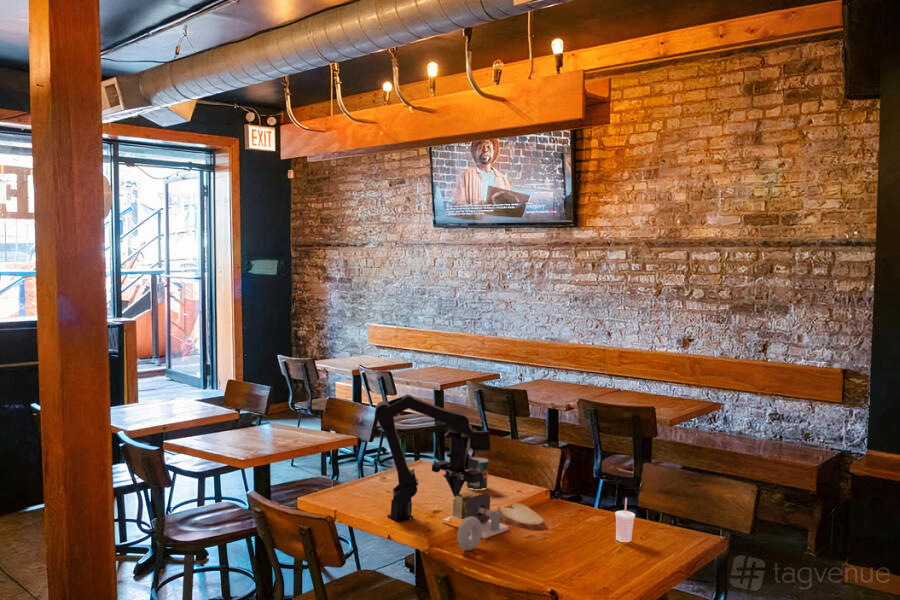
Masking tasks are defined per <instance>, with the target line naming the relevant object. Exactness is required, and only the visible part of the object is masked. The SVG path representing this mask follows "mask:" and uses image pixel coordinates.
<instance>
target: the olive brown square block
mask: <svg viewBox="0 0 900 600" xmlns="http://www.w3.org/2000/svg"><path fill="white" fill-rule="evenodd" d="M477 495H478V493H477V492H475V491H472V490H468V491H466V492H463V493H459V495H456V497H454V499H455V517H456V518H458V519H465V518H467V508H466V502H467V500H468V498H471V497H474V496H477Z"/></svg>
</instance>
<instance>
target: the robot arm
mask: <svg viewBox="0 0 900 600" xmlns="http://www.w3.org/2000/svg"><path fill="white" fill-rule="evenodd" d="M374 409H375V410H374V411H375V412H374V415H375V418H376V420H377V421H378V424H379V426H380V427H381V429H382V431H383V432H384V434H385V438H386V441H387V444H388V446H389V450H390V453H391V455H392V459H393V463H394V466H395V468H396V472H397V479H398V484H397V485H396V486H395V487H394V488H392V499H391V500H390V502H391V503H390V514H388V515H387V518H389V519H391V520H394V521H397V522H399V523H402V522H405V521H404V520H406V521H408V520H407V519H409V520H411V519H410V518H412V519H414V518H415V516H414V515H412V509H413V508H412V506H413V502H412V498H413V497H414V496H415V495H416V494H417V492H418V486H419V480H418V478H417V475H416V473H415V468H413V469H410V467H409V466H408V464H407V461H406V457H405V454H404V451H403V448H402V444H401V442H400V439H399V435H398V432H397V429H396V425H395V418H394V416H397V415H399V414H401V413H402V412H404V411H406V410H409V409H410V410H411V411H414V412H417V413H419V414H422V415H424V416H427V417H429V418H432V419H435V420H437V421H440V422H441V423H442V424H444V425H445V426H447V427H448V428H450V429H449V430H448V431H447V432H445V433H444V436H445V438H446V439H449V452H447V453H446V457H447V458H449V460H448V461H446V460H439V461H435V462H433V463H432V465H431V471H432V472H434V473H439V472H440V471H441V470H442V471H445V474H444V475H443V478H445V479H446V481H447V483H448V486H449V488H450V491H451V493H452V495H453V497H454V498H456V495H459V494H461V490H462V488H463V486H464V484H465V482H466V483H467V482H469V483H476V482H480V481H483V479H484V474H483V473H482V472H480V471H477V470H476V469H477V466H478V462H479V461H478V460H474V459H471V458H470V457H471V456H470V453H468V448H469V449H471V452H490V450H491V440H490V430H473V428H472V427H471V426H470V421H469V419H468V417H467V415H466V413H464V412H462V411H460V410H459V411H458V410H453V409H447V408H446V409H445V408H443V407H440V406H437V405H434V404H432V403H429V402H427V401H424V400H422V399H419V398H417V397H415V396H413V395H411V394H404V395H402V396H400V397H397V398H394V399H391V400H389V401H386V400H385V401H380V402H378V403H377V404H376V406H375V408H374ZM452 430H453V431H452ZM462 433H463V434H462ZM470 468H474V469H475V470H471V471H467V470H469V469H470ZM413 517H414V518H413ZM401 521H402V522H401Z"/></svg>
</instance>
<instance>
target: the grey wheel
mask: <svg viewBox="0 0 900 600" xmlns="http://www.w3.org/2000/svg"><path fill="white" fill-rule="evenodd" d="M457 529H458V528H457ZM470 530H471V533H469V532H470ZM456 534H457V535H456V536H457V543H458V546H459V547H460V548H461V549H462V550H464V551H468V552H469V551H472V550H474V549H475V548H477V546H478V545H479V542H480V541H481V536H482V526H481V522H480V521H479V520H478V518H476V517H474V516H471V517H467V518H466V519H464V520H463V521H462V523H461V524H460V526H459V529H458V530H457V533H456Z"/></svg>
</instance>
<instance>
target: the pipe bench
mask: <svg viewBox="0 0 900 600" xmlns="http://www.w3.org/2000/svg"><path fill="white" fill-rule="evenodd" d="M452 502H453V504H452V505H453V506H452V515H451V516H448V517H445V518H443V519H442V521H443V520H446V521H449V518H451V517H453V516H454V517H455V498H454V499H453V501H452ZM466 508H467V502H466ZM478 513H481V514H484V515H486V516H489V521H486V522H483V523H481V526H482V536H481V538H482V539H487V538H489V537H493V536H495V535H498V534H500V533H503V532H506V531H509V529H510V528H509V526H508V525H506V524H504V523H501V521H500V520H501V519H500V512H497V510H496V511H493V510H491V509H490V510H488V509H484V508H481V507H479V506H478ZM469 534H471V530H470V532H469Z"/></svg>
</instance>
